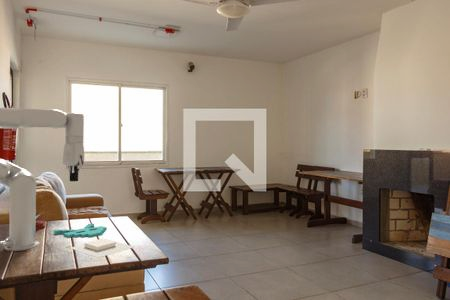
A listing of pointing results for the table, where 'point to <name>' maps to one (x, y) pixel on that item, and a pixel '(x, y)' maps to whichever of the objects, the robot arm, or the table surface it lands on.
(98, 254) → the mat
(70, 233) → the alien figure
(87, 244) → the tile
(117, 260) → the table surface
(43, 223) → the canned food
